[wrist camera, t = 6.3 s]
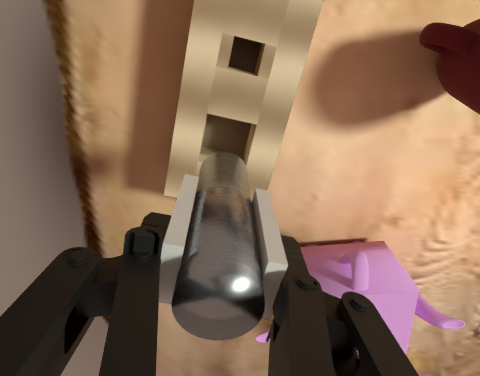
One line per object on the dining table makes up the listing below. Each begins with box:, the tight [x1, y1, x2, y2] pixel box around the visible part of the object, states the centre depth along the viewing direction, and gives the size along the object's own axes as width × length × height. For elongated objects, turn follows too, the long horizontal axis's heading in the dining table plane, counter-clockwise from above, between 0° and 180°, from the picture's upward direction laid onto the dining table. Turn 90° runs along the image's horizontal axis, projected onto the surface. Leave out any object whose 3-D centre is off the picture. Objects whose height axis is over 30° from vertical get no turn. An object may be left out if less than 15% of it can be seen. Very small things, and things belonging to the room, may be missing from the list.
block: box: [164, 0, 323, 202], centre depth 29 cm, size 18×9×5 cm, turn 167°
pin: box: [172, 152, 265, 340], centre depth 17 cm, size 3×3×12 cm
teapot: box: [255, 240, 465, 354], centre depth 35 cm, size 15×13×11 cm
